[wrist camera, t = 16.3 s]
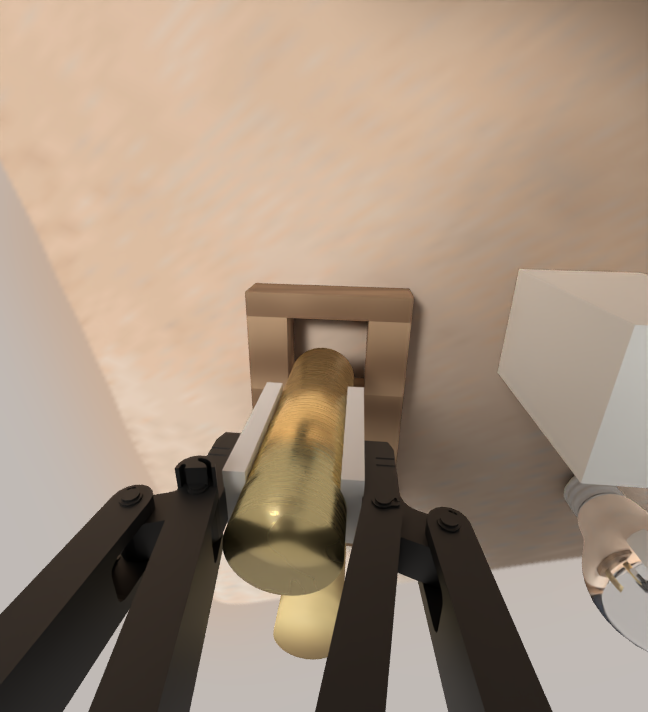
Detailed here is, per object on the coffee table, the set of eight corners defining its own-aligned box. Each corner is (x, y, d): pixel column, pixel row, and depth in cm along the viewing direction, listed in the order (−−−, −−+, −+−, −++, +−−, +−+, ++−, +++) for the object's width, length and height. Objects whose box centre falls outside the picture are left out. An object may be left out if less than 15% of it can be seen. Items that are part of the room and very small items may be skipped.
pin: (291, 346, 22) (216, 500, 11) (354, 349, 22) (346, 509, 10) (292, 402, 23) (227, 590, 12) (352, 405, 23) (342, 600, 12)
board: (255, 283, 26) (174, 351, 15) (409, 288, 25) (446, 365, 14) (268, 514, 33) (221, 672, 22) (385, 524, 32) (396, 693, 21)
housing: (519, 268, 24) (635, 324, 14) (640, 272, 23) (855, 333, 13) (497, 372, 26) (580, 483, 16) (605, 378, 26) (761, 496, 16)
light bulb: (651, 463, 28) (840, 638, 17) (588, 526, 31) (715, 713, 20) (568, 426, 27) (707, 582, 16) (511, 494, 30) (598, 667, 19)
